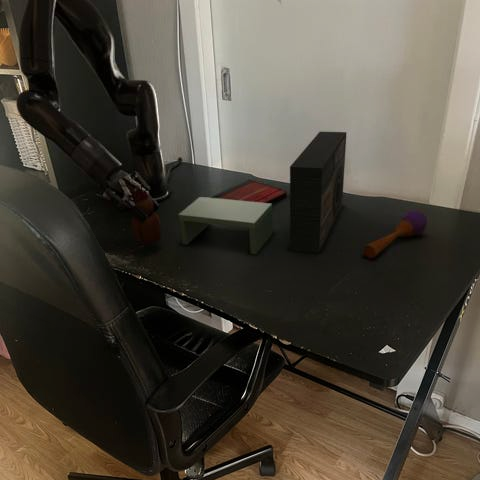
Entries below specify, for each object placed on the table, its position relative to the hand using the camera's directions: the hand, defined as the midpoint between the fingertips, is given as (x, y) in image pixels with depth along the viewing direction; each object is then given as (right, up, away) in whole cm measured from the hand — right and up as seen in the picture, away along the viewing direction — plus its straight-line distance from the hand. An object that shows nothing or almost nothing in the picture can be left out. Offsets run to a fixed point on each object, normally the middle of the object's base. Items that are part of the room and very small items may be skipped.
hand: (151, 214), depth 115 cm
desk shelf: (+18, -4, +8) cm, 20 cm away
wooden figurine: (-1, -6, +5) cm, 8 cm away
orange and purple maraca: (+58, -7, 0) cm, 58 cm away
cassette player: (+41, -1, +11) cm, 43 cm away
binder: (+23, +10, +29) cm, 38 cm away
